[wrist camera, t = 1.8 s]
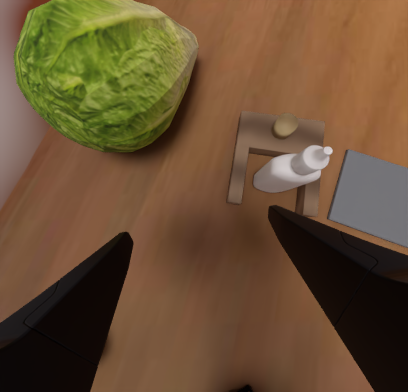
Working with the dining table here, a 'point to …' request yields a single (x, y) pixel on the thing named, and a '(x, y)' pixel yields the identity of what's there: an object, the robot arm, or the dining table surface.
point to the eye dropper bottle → (292, 169)
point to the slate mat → (372, 197)
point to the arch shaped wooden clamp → (275, 151)
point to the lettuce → (104, 70)
